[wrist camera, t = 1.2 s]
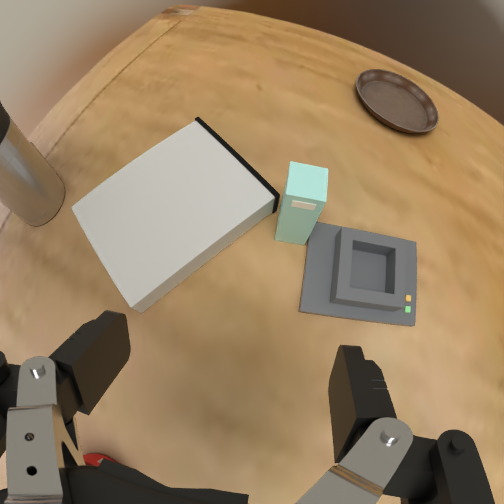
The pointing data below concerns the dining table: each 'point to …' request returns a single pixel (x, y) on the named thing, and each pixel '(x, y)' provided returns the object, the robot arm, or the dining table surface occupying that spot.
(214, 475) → the dining table surface
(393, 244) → the port block
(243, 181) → the disc drive
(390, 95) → the plant saucer
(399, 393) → the dining table surface
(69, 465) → the robot arm
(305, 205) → the plug
